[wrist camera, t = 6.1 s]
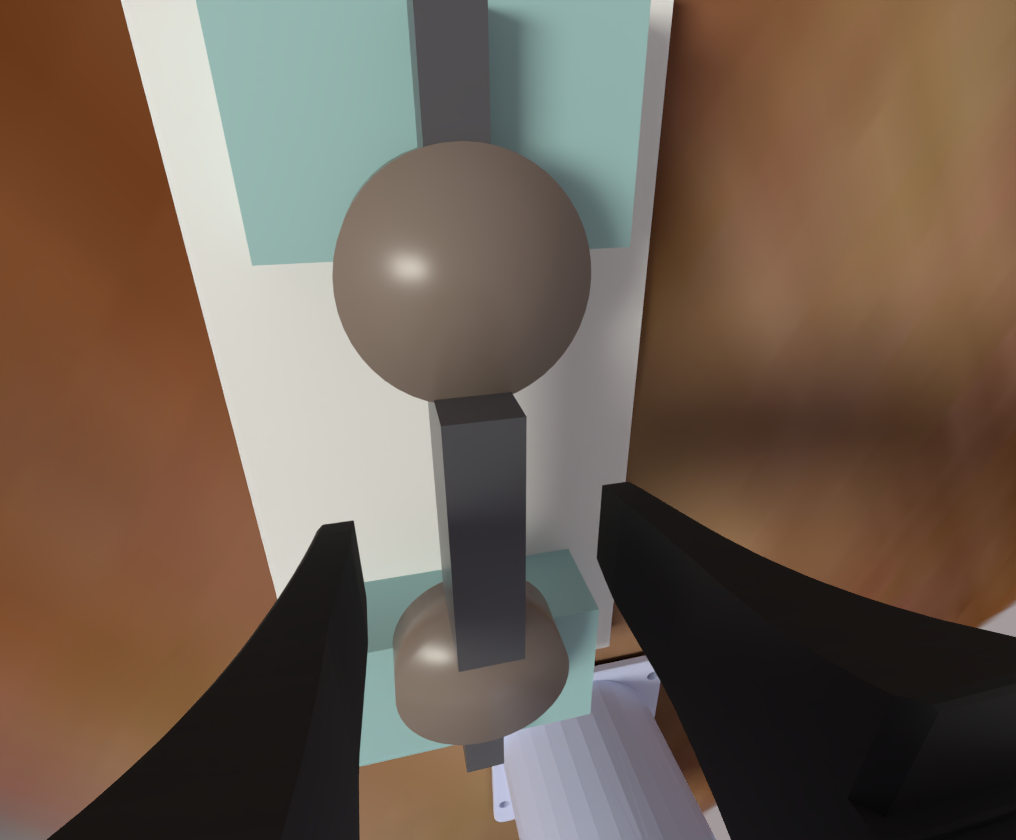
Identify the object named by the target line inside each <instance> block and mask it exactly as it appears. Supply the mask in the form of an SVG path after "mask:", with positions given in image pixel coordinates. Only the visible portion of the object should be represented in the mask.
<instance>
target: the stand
mask: <svg viewBox="0 0 1016 840" xmlns="http://www.w3.org/2000/svg"><path fill="white" fill-rule="evenodd" d="M121 2H122V6H123V10H124V14H125V18H126V21H127V25H128V29H129V33H130V37H131V41H132V44H133V48H134V52H135V56H136V60H137V64H138V67H139V71H140V75H141V79H142V83H143V86H144V90H145V94H146V98H147V102H148V106H149V109H150V113H151V117H152V121H153V125H154V129H155V132H156V136H157V140H158V144H159V148H160V151H161V155H162V159H163V163H164V167H165V171H166V174H167V178H168V182H169V186H170V190H171V193H172V197H173V201H174V205H175V209H176V213H177V216H178V220H179V224H180V228H181V232H182V236H183V239H184V243H185V247H186V251H187V255H188V258H189V262H190V266H191V270H192V274H193V278H194V281H195V285H196V289H197V293H198V297H199V300H200V304H201V308H202V312H203V316H204V320H205V323H206V327H207V331H208V335H209V339H210V343H211V346H212V350H213V354H214V358H215V362H216V365H217V369H218V373H219V377H220V381H221V385H222V388H223V392H224V396H225V400H226V404H227V408H228V411H229V415H230V419H231V423H232V427H233V430H234V434H235V438H236V442H237V446H238V450H239V453H240V457H241V461H242V465H243V469H244V472H245V476H246V480H247V484H248V488H249V492H250V495H251V499H252V503H253V507H254V511H255V515H256V518H257V522H258V526H259V530H260V534H261V537H262V541H263V545H264V549H265V553H266V557H267V560H268V564H269V568H270V572H271V576H272V580H273V583H274V587H275V591H276V595H277V599H278V598H279V596H280V595H281V593H282V592H283V590H284V588H285V587H286V585H287V584H288V582H289V580H290V579H291V577H292V576H293V574H294V573H295V571H296V569H297V567H298V566H299V564H300V562H301V560H302V559H303V557H304V555H305V553H306V552H307V550H308V548H309V546H310V544H311V542H312V540H313V538H314V536H315V534H316V532H317V530H318V529H319V528H320V527H321V526H322V525H324V524H331V523H338V522H345V521H352V520H354V525H355V531H356V537H357V543H358V549H359V555H360V561H361V567H362V573H363V579H364V585H365V591H366V598H367V623H368V653H367V666H366V680H365V692H364V705H363V718H362V731H361V743H360V758H359V767H360V766H365V765H369V764H373V763H378V762H382V761H386V760H391V759H395V758H400V757H404V756H408V755H413V754H417V753H421V752H426V751H430V750H434V749H439V748H443V747H448V746H452V745H450V744H442V743H437V742H434V741H431V740H427V739H425V738H423V737H421V736H419V735H417V734H416V733H414V732H413V731H411V730H410V729H409V728H408V727H407V726H406V725H405V723H404V722H403V721H402V719H401V718H400V716H399V714H398V711H397V707H396V698H395V679H394V660H393V635H394V631H395V628H396V625H397V623H398V621H399V619H400V617H401V616H402V614H403V613H404V611H405V610H406V609H407V608H408V606H409V605H410V604H411V603H412V602H413V601H414V600H415V599H416V598H417V597H419V596H420V595H421V594H422V593H424V592H425V591H427V590H428V589H430V588H431V587H433V586H435V585H437V584H438V583H441V582H443V579H442V567H441V555H440V542H439V530H438V518H437V506H436V494H435V482H434V470H433V457H432V445H431V433H430V421H429V409H428V401H425V400H422V399H419V398H416V397H413V396H411V395H409V394H407V393H405V392H403V391H400V390H398V389H397V388H395V387H394V386H392V385H391V384H389V383H388V382H386V381H385V380H383V379H382V378H381V377H380V376H379V375H378V374H376V373H375V372H374V371H373V370H372V369H371V368H370V367H369V366H368V365H367V364H366V363H365V362H364V360H363V359H362V358H361V357H360V355H359V354H358V353H357V351H356V350H355V348H354V347H353V345H352V344H351V342H350V340H349V338H348V336H347V334H346V332H345V331H344V329H343V326H342V323H341V320H340V318H339V315H338V312H337V307H336V303H335V298H334V291H333V279H332V274H333V258H334V252H335V247H336V242H337V238H338V235H339V232H340V229H341V226H342V224H343V221H344V218H345V215H346V212H347V210H348V208H349V206H350V204H351V202H352V200H353V198H354V197H355V195H356V194H357V192H358V191H359V189H360V188H361V187H362V185H363V184H364V183H365V182H366V181H367V180H368V178H369V177H370V176H371V175H372V174H373V173H374V172H375V171H377V170H378V169H379V168H380V167H382V166H383V165H384V164H385V163H387V162H388V161H390V160H392V159H393V158H395V157H397V156H398V155H400V154H402V153H405V152H407V151H410V150H412V149H415V148H417V134H416V121H415V108H414V94H413V81H412V68H411V54H410V41H409V27H408V14H407V0H121ZM673 3H674V0H488V33H489V80H490V126H491V144H492V145H496V146H500V147H503V148H506V149H508V150H511V151H513V152H516V153H518V154H520V155H522V156H523V157H525V158H527V159H529V160H531V161H532V162H534V163H535V164H536V165H538V166H539V167H540V168H542V169H543V170H544V171H546V172H547V173H548V174H549V175H550V176H551V177H552V178H553V179H554V180H555V181H556V182H557V183H558V184H559V185H560V187H561V188H562V189H563V190H564V192H565V193H566V194H567V196H568V197H569V198H570V200H571V202H572V204H573V205H574V207H575V209H576V211H577V212H578V214H579V217H580V219H581V222H582V224H583V227H584V229H585V233H586V237H587V241H588V244H589V250H590V258H591V285H590V294H589V299H588V303H587V307H586V311H585V314H584V317H583V319H582V322H581V325H580V327H579V329H578V331H577V333H576V335H575V337H574V339H573V341H572V342H571V344H570V345H569V347H568V348H567V350H566V351H565V353H564V354H563V355H562V356H561V358H560V359H559V360H558V361H557V362H556V363H555V365H554V366H553V367H552V368H550V369H549V370H548V371H547V372H546V373H545V374H544V375H543V376H542V377H540V378H539V379H538V380H536V381H535V382H534V383H532V384H531V385H529V386H527V387H526V388H524V389H522V390H520V391H519V392H517V393H514V394H513V395H514V397H515V399H516V400H517V402H518V404H519V405H520V407H521V408H522V410H523V412H524V413H525V415H526V417H527V429H526V581H528V582H530V583H531V584H532V585H534V586H535V587H536V588H537V589H538V590H539V591H540V592H541V593H542V595H543V596H544V598H545V599H546V602H547V604H548V606H549V609H550V611H551V614H552V616H553V619H554V621H555V624H556V626H557V629H558V631H559V633H560V636H561V638H562V641H563V643H564V646H565V648H566V651H567V654H568V658H569V673H568V678H567V681H566V684H565V686H564V688H563V690H562V692H561V694H560V695H559V697H558V698H557V700H556V701H555V702H554V704H553V705H552V706H551V707H550V708H549V709H548V710H547V711H546V712H545V713H544V714H543V715H541V716H540V717H539V718H538V719H537V720H535V721H534V722H532V723H531V724H529V725H528V726H526V727H524V728H522V729H526V728H531V727H535V726H539V725H544V724H548V723H552V722H557V721H561V720H565V719H570V718H574V717H579V716H583V715H587V714H590V710H591V698H592V686H593V675H594V663H595V651H596V649H599V648H604V647H608V646H609V642H610V632H611V622H612V612H613V602H614V599H613V597H612V595H611V593H610V590H609V588H608V586H607V583H606V581H605V579H604V576H603V573H602V571H601V568H600V566H599V563H598V561H597V545H598V533H599V520H600V507H601V494H602V485H607V484H614V483H621V482H626V472H627V462H628V452H629V442H630V432H631V422H632V412H633V402H634V392H635V382H636V372H637V362H638V352H639V342H640V333H641V323H642V313H643V303H644V293H645V283H646V273H647V263H648V253H649V243H650V233H651V223H652V213H653V203H654V193H655V183H656V173H657V163H658V153H659V143H660V133H661V123H662V113H663V103H664V93H665V83H666V73H667V63H668V53H669V43H670V33H671V23H672V13H673ZM522 729H521V730H522Z"/></svg>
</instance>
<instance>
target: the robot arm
mask: <svg viewBox="0 0 1016 840" xmlns="http://www.w3.org/2000/svg"><path fill="white" fill-rule="evenodd" d="M597 561H598V563H599V566H600V568H601V571H602V573H603V576H604V579H605V581H606V583H607V586H608V588H609V590H610V593H611V595H612V597H613V599H614V601H615V603H616V605H617V607H618V608H619V610H620V612H621V614H622V615H623V617H624V619H625V621H626V622H627V624H628V626H629V628H630V629H631V631H632V633H633V635H634V636H635V638H636V640H637V642H638V643H639V645H640V647H641V648H642V650H643V652H644V654H645V655H644V656H639V657H635V658H630V659H625V660H620V661H616V662H611V663H606V664H601V665H597V666H594V675H593V686H592V698H591V710H590V714H587V715H583V716H579V717H574V718H570V719H565V720H561V721H557V722H552V723H548V724H544V725H539V726H535V727H531V728H526V729H522V730H519V731H517V732H514V733H512V734H510V735H508V736H505V737H504V764H500V765H496V766H492V790H493V812H494V818H495V820H496V821H498V822H505V821H509V820H513V819H515V820H516V825H517V829H518V834H519V838H520V840H716V839H715V837H714V835H713V833H712V831H711V829H710V827H709V825H708V823H707V821H706V819H705V817H704V815H703V813H702V811H701V809H700V807H699V805H698V803H697V801H696V799H695V797H694V795H693V793H692V791H691V789H690V788H689V786H688V784H687V782H686V780H685V778H684V776H683V774H682V772H681V770H680V768H679V766H678V764H677V762H676V760H675V758H674V756H673V754H672V752H671V750H670V748H669V746H668V744H667V742H666V740H665V738H664V736H663V734H662V732H661V731H660V729H659V727H658V725H657V723H656V721H655V719H654V718H655V712H656V706H657V700H658V694H659V688H660V682H661V683H662V685H663V687H664V688H665V690H666V692H667V694H668V696H669V698H670V700H671V702H672V704H673V706H674V708H675V710H676V712H677V714H678V716H679V719H680V721H681V723H682V725H683V727H684V730H685V732H686V734H687V736H688V738H689V741H690V743H691V745H692V747H693V750H694V752H695V754H696V756H697V759H698V761H699V763H700V766H701V768H702V770H703V773H704V775H705V777H706V780H707V782H708V784H709V787H710V789H711V791H712V794H713V796H714V798H715V801H716V803H717V806H718V808H719V811H720V813H721V816H722V818H723V821H724V823H725V825H726V828H727V831H728V833H729V836H730V838H731V840H1016V637H1013V636H1009V635H1004V634H1000V633H996V632H991V631H987V630H983V629H978V628H974V627H970V626H965V625H961V624H957V623H953V622H948V621H944V620H940V619H936V618H932V617H929V616H925V615H922V614H918V613H915V612H911V611H908V610H904V609H901V608H897V607H894V606H890V605H887V604H884V603H881V602H878V601H875V600H872V599H868V598H865V597H862V596H859V595H857V594H854V593H851V592H848V591H845V590H843V589H840V588H837V587H834V586H831V585H829V584H826V583H823V582H821V581H818V580H816V579H813V578H810V577H808V576H805V575H803V574H801V573H798V572H796V571H794V570H792V569H789V568H787V567H785V566H782V565H780V564H778V563H775V562H773V561H771V560H769V559H767V558H764V557H762V556H760V555H758V554H756V553H754V552H752V551H750V550H748V549H746V548H744V547H742V546H740V545H738V544H736V543H735V542H733V541H731V540H729V539H727V538H725V537H723V536H721V535H719V534H718V533H716V532H714V531H712V530H710V529H709V528H707V527H705V526H703V525H702V524H700V523H698V522H696V521H695V520H693V519H691V518H690V517H688V516H686V515H684V514H683V513H681V512H679V511H678V510H676V509H674V508H673V507H671V506H669V505H668V504H666V503H664V502H663V501H661V500H659V499H658V498H656V497H654V496H653V495H651V494H649V493H648V492H646V491H644V490H643V489H641V488H639V487H637V486H636V485H634V484H632V483H630V482H621V483H614V484H607V485H602V494H601V507H600V520H599V533H598V545H597ZM367 653H368V623H367V598H366V591H365V585H364V579H363V573H362V567H361V561H360V555H359V549H358V543H357V537H356V531H355V525H354V520H352V521H345V522H338V523H331V524H324V525H322V526H321V527H320V528H319V529H318V530H317V532H316V534H315V536H314V538H313V540H312V542H311V544H310V546H309V548H308V550H307V552H306V553H305V555H304V557H303V559H302V560H301V562H300V564H299V566H298V567H297V569H296V571H295V573H294V574H293V576H292V577H291V579H290V580H289V582H288V584H287V585H286V587H285V588H284V590H283V592H282V593H281V595H280V596H279V598H278V599H277V601H276V602H275V604H274V605H273V607H272V608H271V610H270V611H269V613H268V614H267V615H266V617H265V618H264V620H263V621H262V622H261V624H260V625H259V627H258V628H257V629H256V631H255V632H254V634H253V635H252V636H251V638H250V639H249V640H248V642H247V643H246V644H245V646H244V647H243V648H242V649H241V651H240V652H239V653H238V655H237V656H236V657H235V658H234V659H233V661H232V662H231V663H230V664H229V666H228V667H227V668H226V669H225V670H224V671H223V673H222V674H221V675H220V676H219V677H218V679H217V680H216V681H215V682H214V683H213V684H212V686H211V687H210V688H209V689H208V690H207V691H206V692H205V693H204V694H203V695H202V697H201V698H200V699H199V700H198V701H197V702H196V703H195V704H194V705H193V706H192V707H191V708H190V710H189V711H188V712H187V713H186V714H185V715H184V716H183V717H182V718H181V719H180V720H179V721H178V722H177V723H176V724H175V725H174V726H173V727H172V728H171V730H170V731H169V732H168V733H167V734H166V735H165V736H164V737H163V738H162V739H161V740H160V741H159V742H158V743H157V744H155V745H154V746H153V747H152V748H151V749H150V750H149V751H148V752H147V753H146V754H145V755H144V756H143V757H142V758H140V759H139V760H138V761H137V762H136V763H135V764H134V765H133V766H132V767H131V768H130V769H129V770H128V771H127V772H125V773H124V774H123V775H122V776H121V777H120V778H119V779H118V780H117V781H115V782H114V783H113V784H112V785H111V786H110V787H109V788H108V789H106V790H105V791H104V792H103V793H102V794H101V795H100V796H99V797H97V798H96V799H95V800H94V801H93V802H92V803H90V804H89V805H88V806H87V807H86V808H85V809H83V810H82V811H81V812H80V813H79V814H78V815H76V816H75V817H74V818H73V819H71V820H70V821H69V822H68V823H66V824H65V825H64V826H63V827H62V828H60V829H59V830H58V831H57V832H55V833H54V834H53V835H52V836H50V837H49V838H48V839H47V840H359V758H360V743H361V731H362V718H363V705H364V692H365V680H366V666H367Z"/></svg>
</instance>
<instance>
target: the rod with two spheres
mask: <svg viewBox="0 0 1016 840" xmlns="http://www.w3.org/2000/svg"><path fill="white" fill-rule="evenodd" d="M407 14H408V27H409V41H410V54H411V68H412V81H413V94H414V108H415V121H416V134H417V148H415V149H412V150H410V151H407V152H405V153H402V154H400V155H398V156H397V157H395V158H393V159H392V160H390V161H388V162H387V163H385V164H384V165H383V166H382V167H380V168H379V169H378V170H377V171H375V172H374V173H373V174H372V175H371V176H370V177H369V178H368V180H367V181H366V182H365V183H364V184H363V185H362V187H361V188H360V189H359V191H358V192H357V194H356V195H355V197H354V198H353V200H352V202H351V204H350V206H349V208H348V210H347V212H346V215H345V218H344V221H343V224H342V226H341V229H340V232H339V235H338V238H337V242H336V247H335V252H334V258H333V274H332V279H333V291H334V298H335V303H336V307H337V312H338V315H339V318H340V320H341V323H342V326H343V329H344V331H345V332H346V334H347V336H348V338H349V340H350V342H351V344H352V345H353V347H354V348H355V350H356V351H357V353H358V354H359V355H360V357H361V358H362V359H363V360H364V362H365V363H366V364H367V365H368V366H369V367H370V368H371V369H372V370H373V371H374V372H375V373H376V374H378V375H379V376H380V377H381V378H382V379H383V380H385V381H386V382H388V383H389V384H391V385H392V386H394V387H395V388H397V389H398V390H400V391H403V392H405V393H407V394H409V395H411V396H413V397H416V398H419V399H422V400H425V401H428V409H429V421H430V433H431V445H432V457H433V470H434V482H435V494H436V506H437V518H438V530H439V542H440V555H441V567H442V579H443V582H441V583H438V584H437V585H435V586H433V587H431V588H430V589H428V590H427V591H425V592H424V593H422V594H421V595H420V596H419V597H417V598H416V599H415V600H414V601H413V602H412V603H411V604H410V605H409V606H408V608H407V609H406V610H405V611H404V613H403V614H402V616H401V617H400V619H399V621H398V623H397V625H396V628H395V631H394V635H393V660H394V679H395V698H396V707H397V711H398V714H399V716H400V718H401V719H402V721H403V722H404V723H405V725H406V726H407V727H408V728H409V729H410V730H411V731H413V732H414V733H416V734H417V735H419V736H421V737H423V738H425V739H427V740H431V741H434V742H437V743H442V744H450V745H463V749H464V755H465V761H466V768H467V772H471V771H475V770H480V769H484V768H488V767H492V766H496V765H500V764H504V737H505V736H508V735H510V734H512V733H514V732H517V731H519V730H521V729H522V728H524V727H526V726H528V725H529V724H531V723H532V722H534V721H535V720H537V719H538V718H539V717H540V716H541V715H543V714H544V713H545V712H546V711H547V710H548V709H549V708H550V707H551V706H552V705H553V704H554V702H555V701H556V700H557V698H558V697H559V695H560V694H561V692H562V690H563V688H564V686H565V684H566V681H567V678H568V673H569V658H568V654H567V651H566V648H565V646H564V643H563V641H562V638H561V636H560V633H559V631H558V629H557V626H556V624H555V621H554V619H553V616H552V614H551V611H550V609H549V606H548V604H547V602H546V599H545V598H544V596H543V595H542V593H541V592H540V591H539V590H538V589H537V588H536V587H535V586H534V585H532V584H531V583H530V582H528V581H526V429H527V417H526V415H525V413H524V412H523V410H522V408H521V407H520V405H519V404H518V402H517V400H516V399H515V397H514V395H513V394H514V393H517V392H519V391H520V390H522V389H524V388H526V387H527V386H529V385H531V384H532V383H534V382H535V381H536V380H538V379H539V378H540V377H542V376H543V375H544V374H545V373H546V372H547V371H548V370H549V369H550V368H552V367H553V366H554V365H555V363H556V362H557V361H558V360H559V359H560V358H561V356H562V355H563V354H564V353H565V351H566V350H567V348H568V347H569V345H570V344H571V342H572V341H573V339H574V337H575V335H576V333H577V331H578V329H579V327H580V325H581V322H582V319H583V317H584V314H585V311H586V307H587V303H588V299H589V294H590V285H591V258H590V250H589V244H588V241H587V237H586V233H585V229H584V227H583V224H582V222H581V219H580V217H579V214H578V212H577V211H576V209H575V207H574V205H573V204H572V202H571V200H570V198H569V197H568V196H567V194H566V193H565V192H564V190H563V189H562V188H561V187H560V185H559V184H558V183H557V182H556V181H555V180H554V179H553V178H552V177H551V176H550V175H549V174H548V173H547V172H546V171H544V170H543V169H542V168H540V167H539V166H538V165H536V164H535V163H534V162H532V161H531V160H529V159H527V158H525V157H523V156H522V155H520V154H518V153H516V152H513V151H511V150H508V149H506V148H503V147H500V146H496V145H492V144H491V126H490V80H489V33H488V0H407Z"/></svg>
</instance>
